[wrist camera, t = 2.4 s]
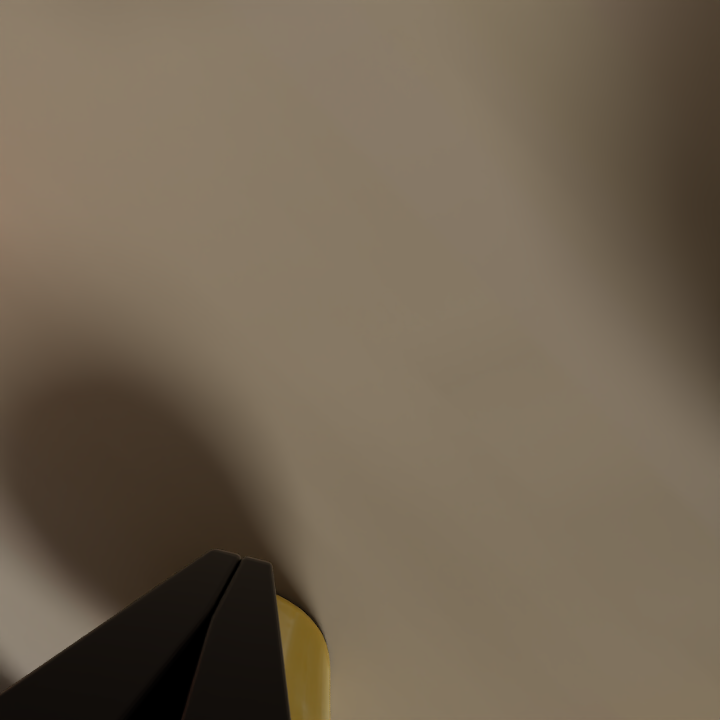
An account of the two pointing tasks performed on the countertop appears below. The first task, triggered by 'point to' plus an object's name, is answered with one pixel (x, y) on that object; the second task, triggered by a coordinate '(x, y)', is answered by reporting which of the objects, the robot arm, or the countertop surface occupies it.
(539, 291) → the countertop surface
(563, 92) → the countertop surface
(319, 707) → the plant pot
